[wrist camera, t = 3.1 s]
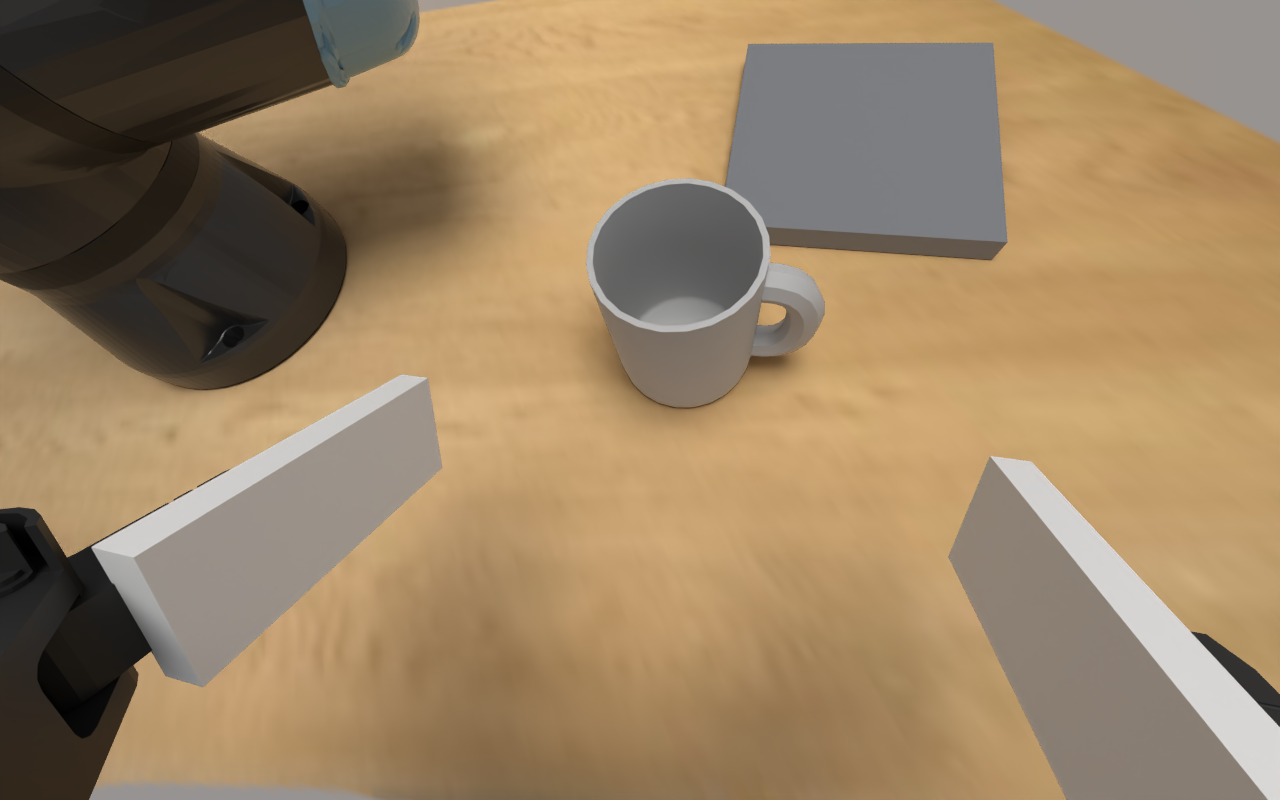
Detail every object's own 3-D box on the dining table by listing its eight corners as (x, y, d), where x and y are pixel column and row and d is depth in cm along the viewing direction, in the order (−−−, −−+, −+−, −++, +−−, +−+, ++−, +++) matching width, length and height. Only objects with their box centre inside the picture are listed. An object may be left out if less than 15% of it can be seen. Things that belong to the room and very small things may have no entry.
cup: (634, 290, 29) (605, 175, 21) (807, 304, 27) (851, 184, 19) (611, 402, 27) (568, 323, 18) (798, 425, 25) (844, 349, 17)
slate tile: (718, 240, 29) (719, 224, 28) (746, 65, 34) (748, 44, 33) (991, 259, 27) (1007, 242, 25) (980, 66, 32) (993, 42, 30)
